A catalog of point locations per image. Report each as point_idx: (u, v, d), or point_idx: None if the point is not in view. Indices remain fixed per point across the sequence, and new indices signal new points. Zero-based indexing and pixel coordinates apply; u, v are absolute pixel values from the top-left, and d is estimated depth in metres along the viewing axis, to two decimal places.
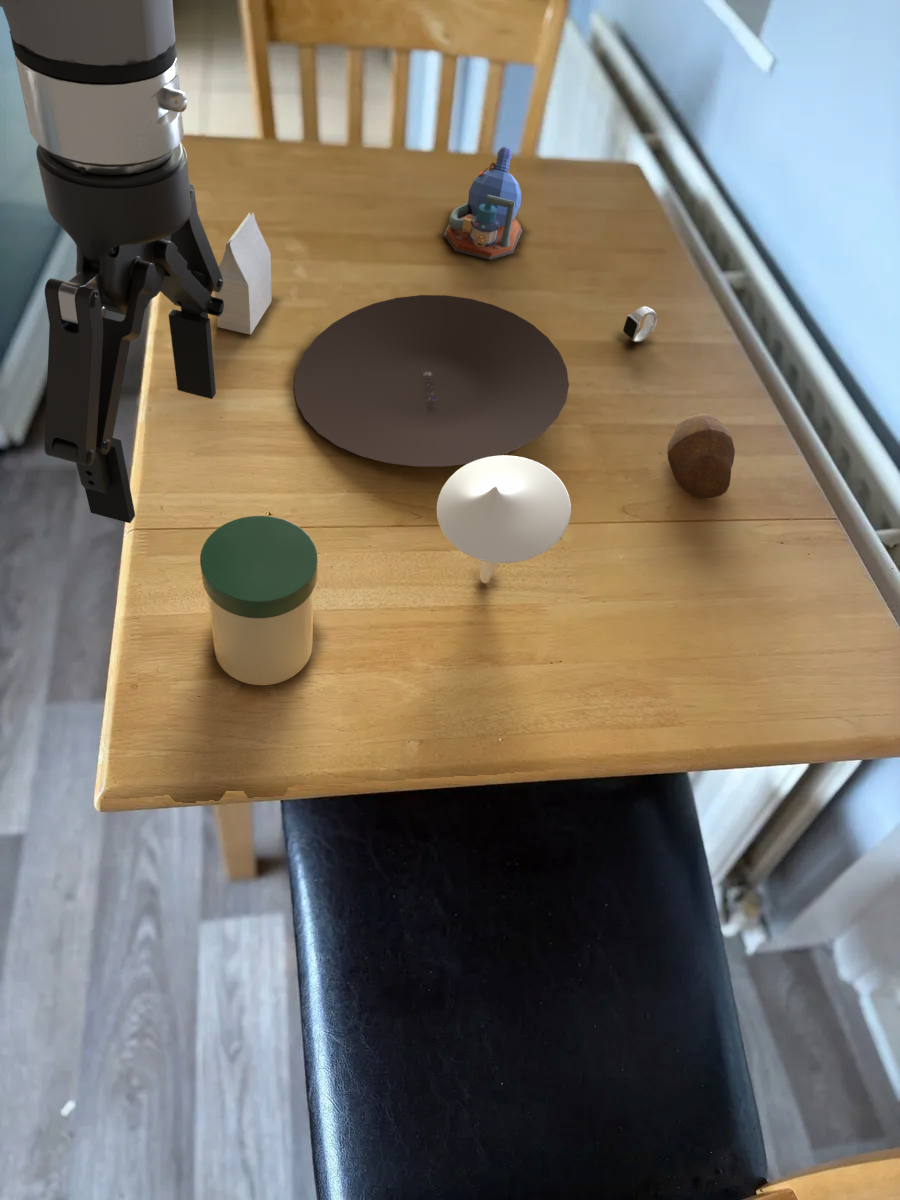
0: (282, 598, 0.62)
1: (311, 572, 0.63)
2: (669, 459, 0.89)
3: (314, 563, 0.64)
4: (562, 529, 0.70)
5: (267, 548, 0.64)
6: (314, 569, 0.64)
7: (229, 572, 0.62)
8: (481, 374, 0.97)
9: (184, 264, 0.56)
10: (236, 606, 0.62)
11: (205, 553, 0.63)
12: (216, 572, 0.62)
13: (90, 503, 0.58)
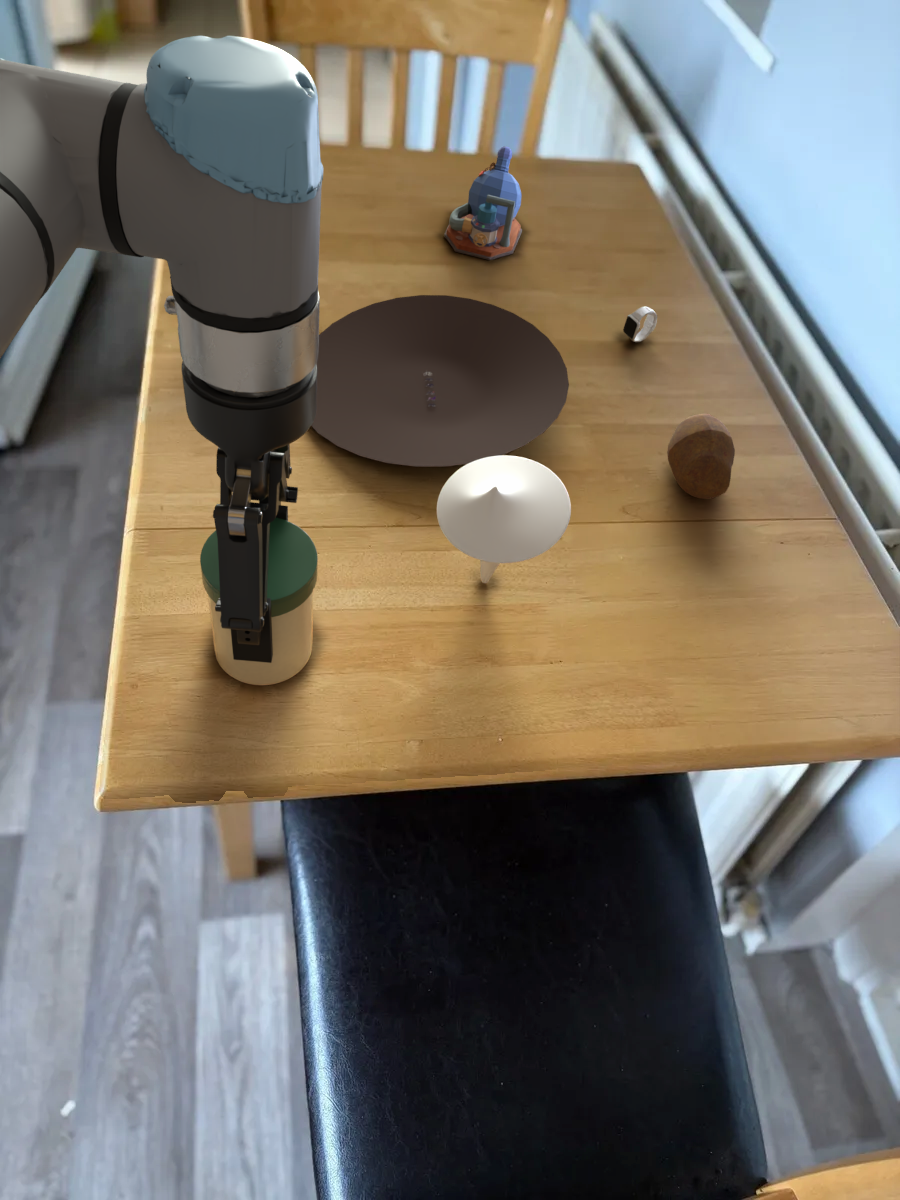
0: (282, 598, 0.62)
1: (311, 572, 0.63)
2: (669, 459, 0.89)
3: (314, 563, 0.64)
4: (562, 529, 0.70)
5: None
6: (314, 569, 0.64)
7: None
8: (481, 374, 0.97)
9: (221, 504, 0.56)
10: None
11: (205, 553, 0.63)
12: (216, 572, 0.62)
13: None
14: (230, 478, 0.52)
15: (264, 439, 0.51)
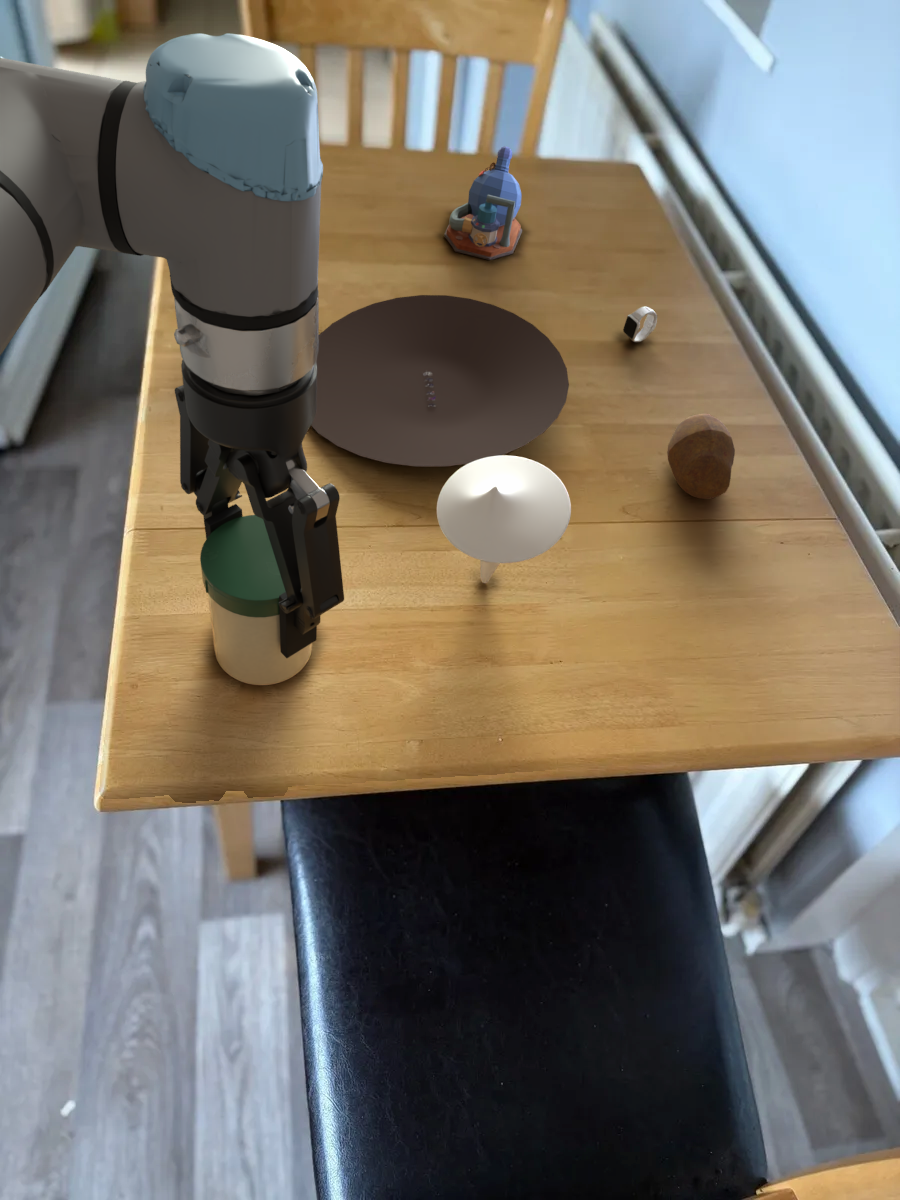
0: None
1: None
2: (669, 459, 0.89)
3: None
4: (562, 529, 0.70)
5: (257, 545, 0.64)
6: None
7: (252, 582, 0.62)
8: (481, 374, 0.97)
9: (259, 511, 0.56)
10: None
11: (216, 581, 0.62)
12: (243, 589, 0.61)
13: None
14: (285, 474, 0.53)
15: (306, 420, 0.52)
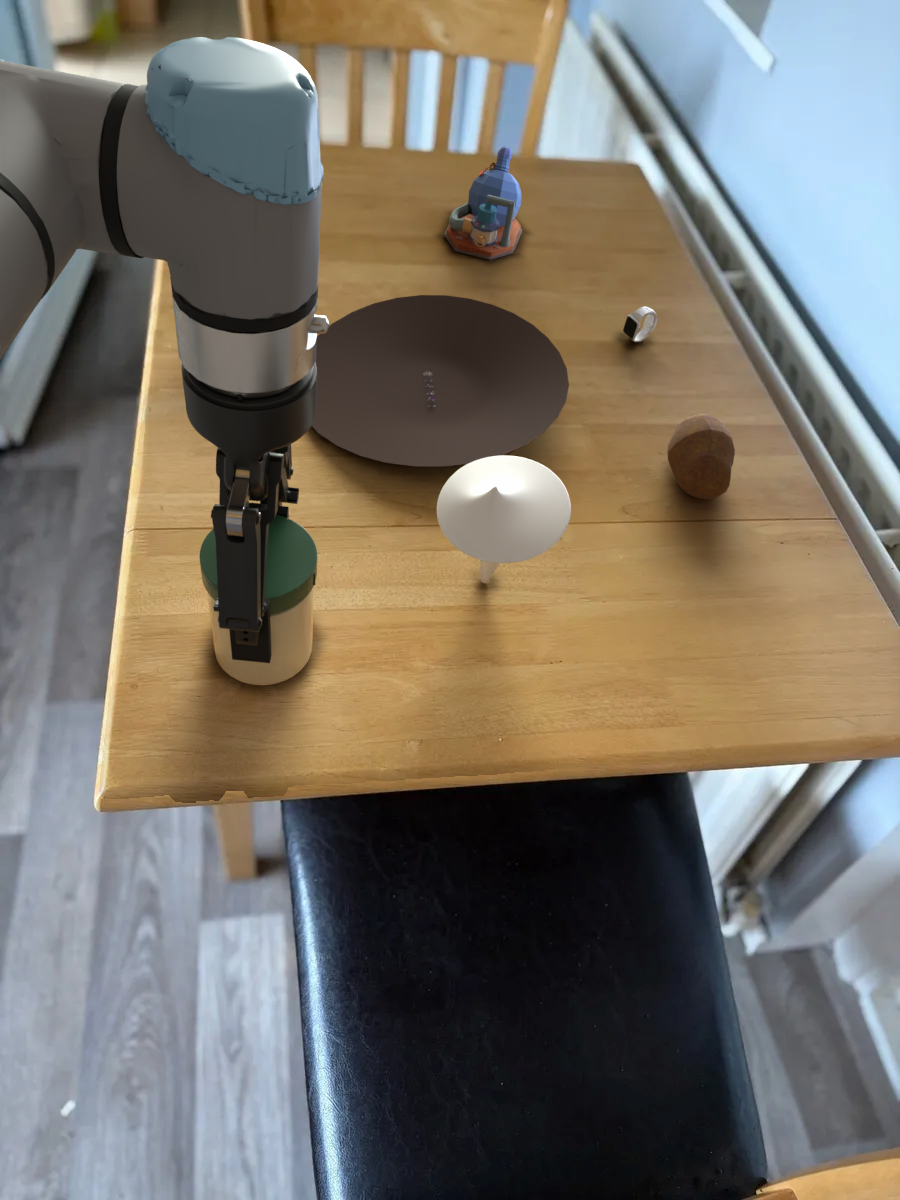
0: None
1: (208, 537, 0.64)
2: (669, 459, 0.89)
3: (204, 546, 0.63)
4: (562, 529, 0.70)
5: None
6: (204, 540, 0.64)
7: (288, 539, 0.65)
8: (481, 374, 0.97)
9: (288, 451, 0.60)
10: None
11: (312, 558, 0.64)
12: (301, 540, 0.65)
13: (233, 652, 0.64)
14: None
15: None
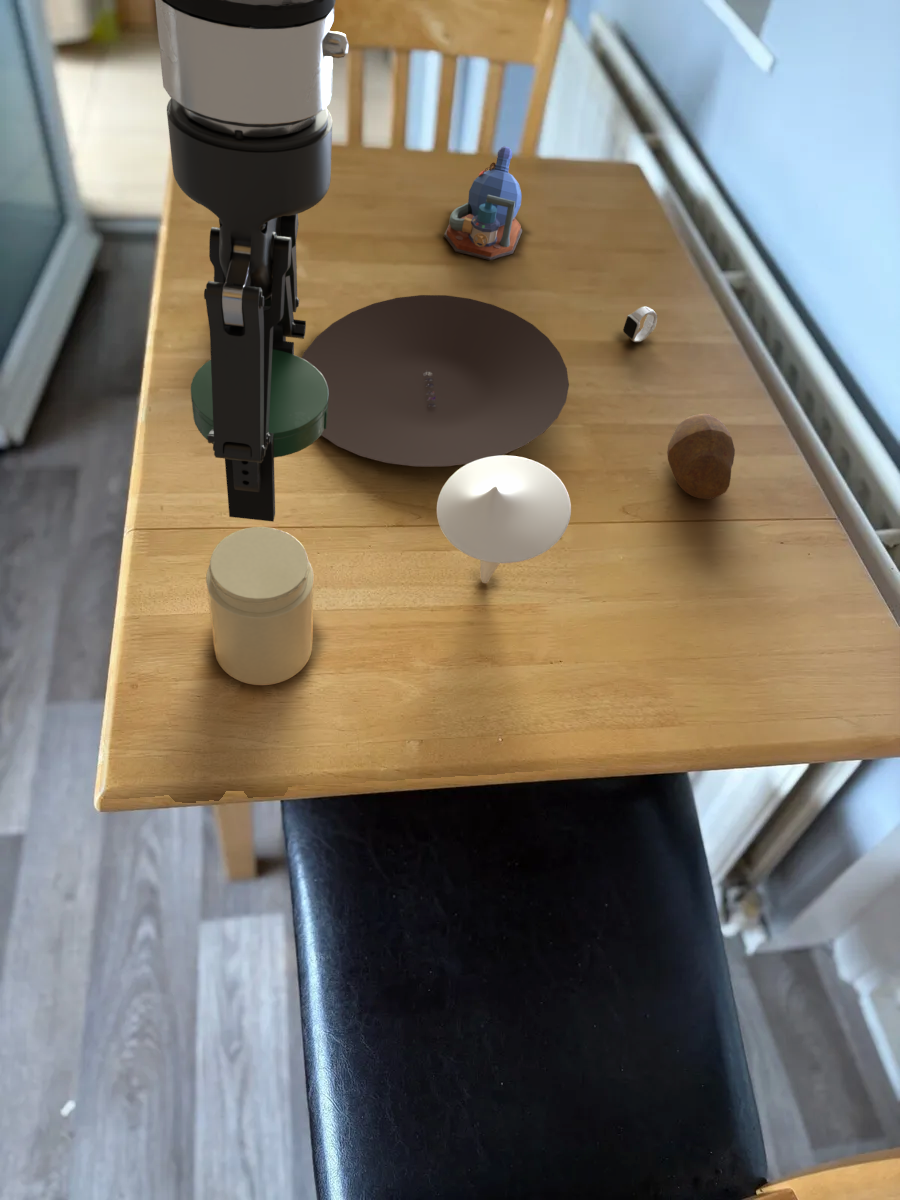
0: None
1: (200, 370, 0.54)
2: (669, 459, 0.89)
3: (196, 379, 0.54)
4: (562, 529, 0.70)
5: None
6: (196, 373, 0.54)
7: (294, 375, 0.55)
8: (481, 374, 0.97)
9: (295, 254, 0.50)
10: None
11: (323, 395, 0.55)
12: (309, 376, 0.55)
13: (230, 506, 0.55)
14: None
15: None
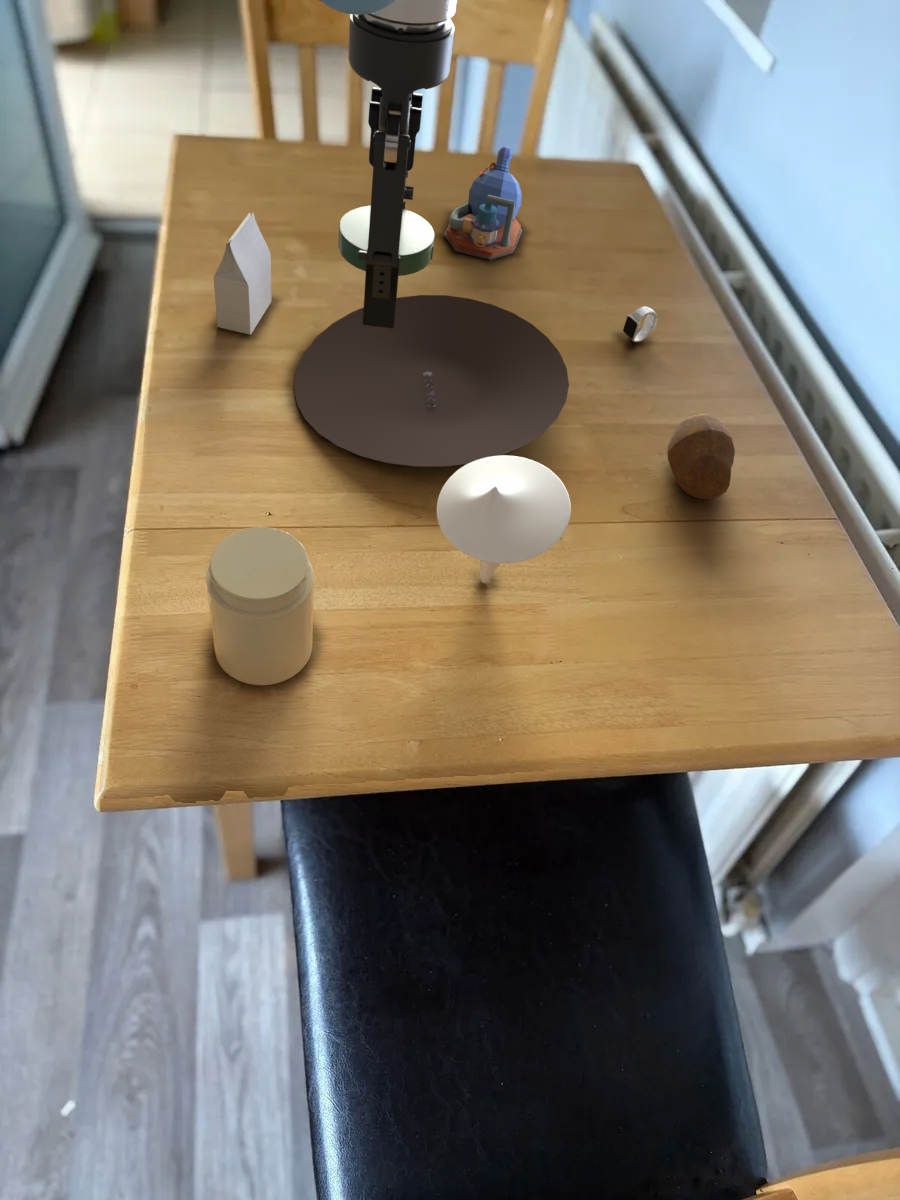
0: None
1: (344, 217, 0.77)
2: (669, 459, 0.89)
3: (342, 222, 0.76)
4: (562, 529, 0.70)
5: None
6: (341, 219, 0.77)
7: (409, 222, 0.78)
8: (481, 374, 0.97)
9: None
10: None
11: (430, 234, 0.77)
12: (419, 223, 0.78)
13: (364, 315, 0.78)
14: None
15: None
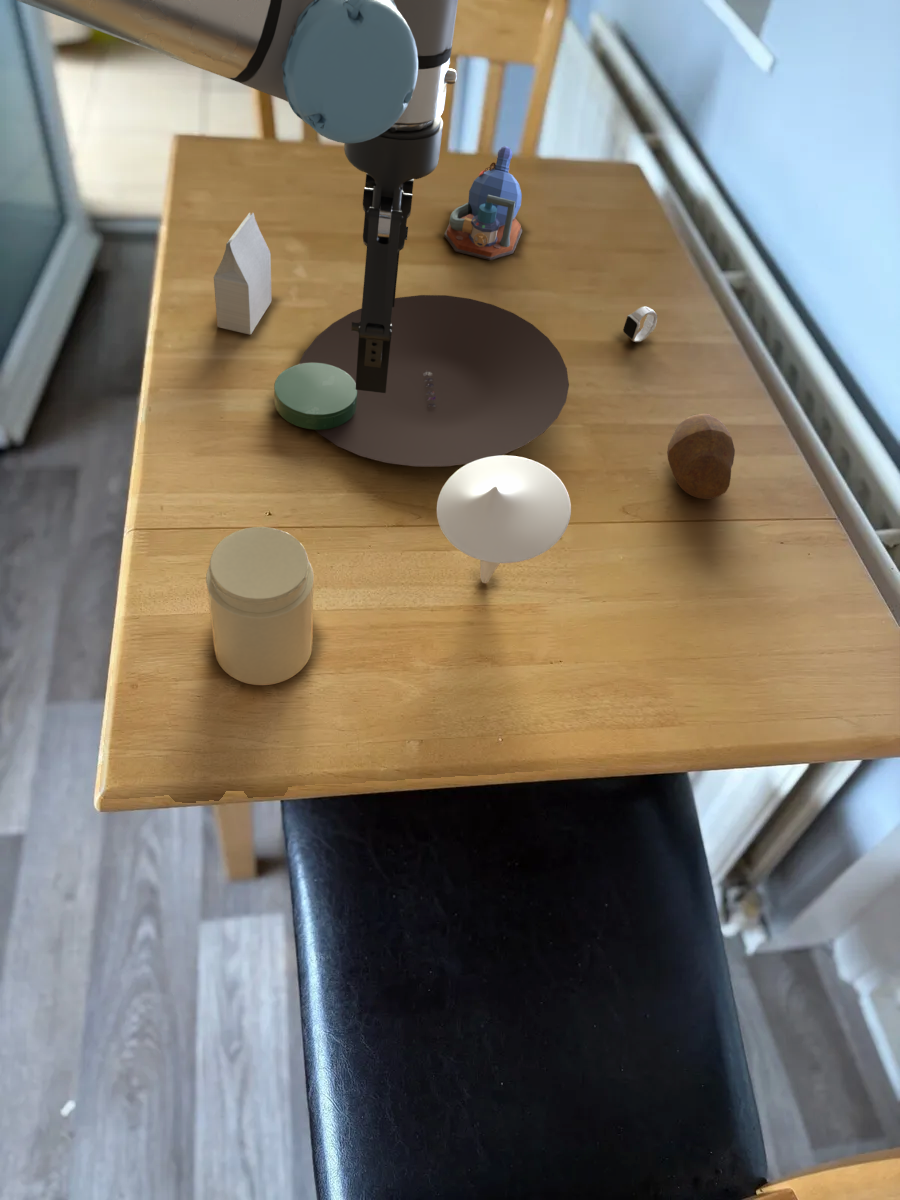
0: (332, 366, 0.92)
1: (302, 364, 0.91)
2: (669, 459, 0.89)
3: (294, 366, 0.91)
4: (562, 529, 0.70)
5: (306, 388, 0.89)
6: (298, 364, 0.91)
7: (340, 392, 0.89)
8: (481, 374, 0.97)
9: None
10: None
11: (339, 408, 0.87)
12: (347, 396, 0.89)
13: (357, 381, 0.80)
14: None
15: None
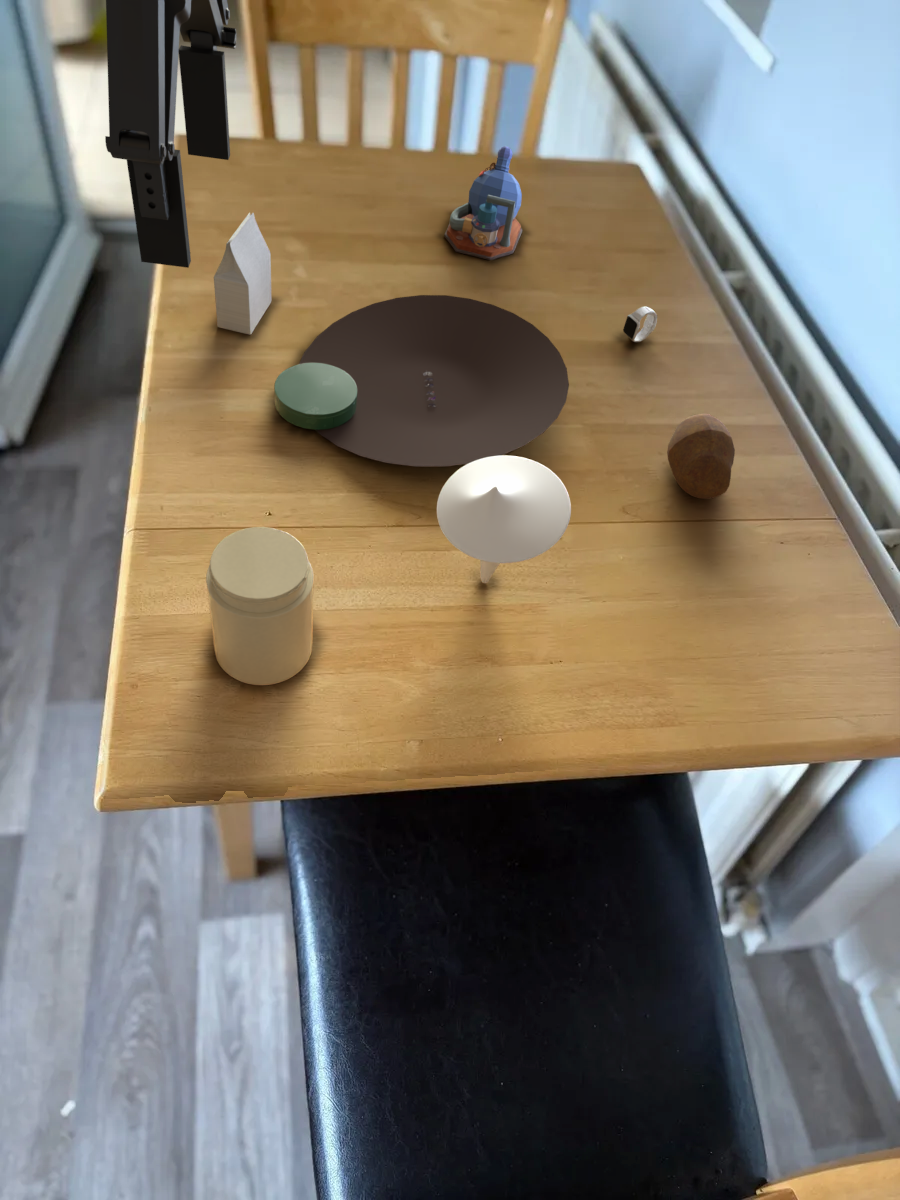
0: (332, 366, 0.92)
1: (302, 364, 0.91)
2: (669, 459, 0.89)
3: (294, 366, 0.91)
4: (562, 529, 0.70)
5: (306, 388, 0.89)
6: (298, 364, 0.91)
7: (340, 392, 0.89)
8: (481, 374, 0.97)
9: None
10: None
11: (339, 408, 0.87)
12: (347, 396, 0.89)
13: (141, 247, 0.52)
14: None
15: None
